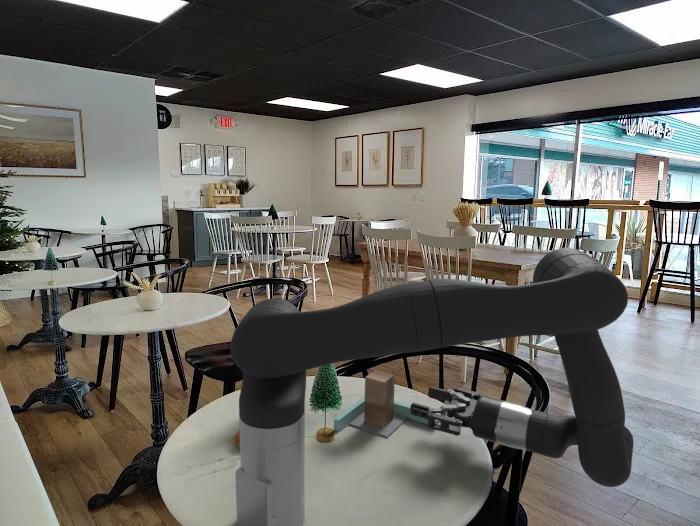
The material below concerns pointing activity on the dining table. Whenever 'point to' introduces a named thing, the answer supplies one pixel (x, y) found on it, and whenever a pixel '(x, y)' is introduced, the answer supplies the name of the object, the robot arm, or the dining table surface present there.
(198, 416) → the dining table surface
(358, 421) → the teal corner fixture
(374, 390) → the walnut block
